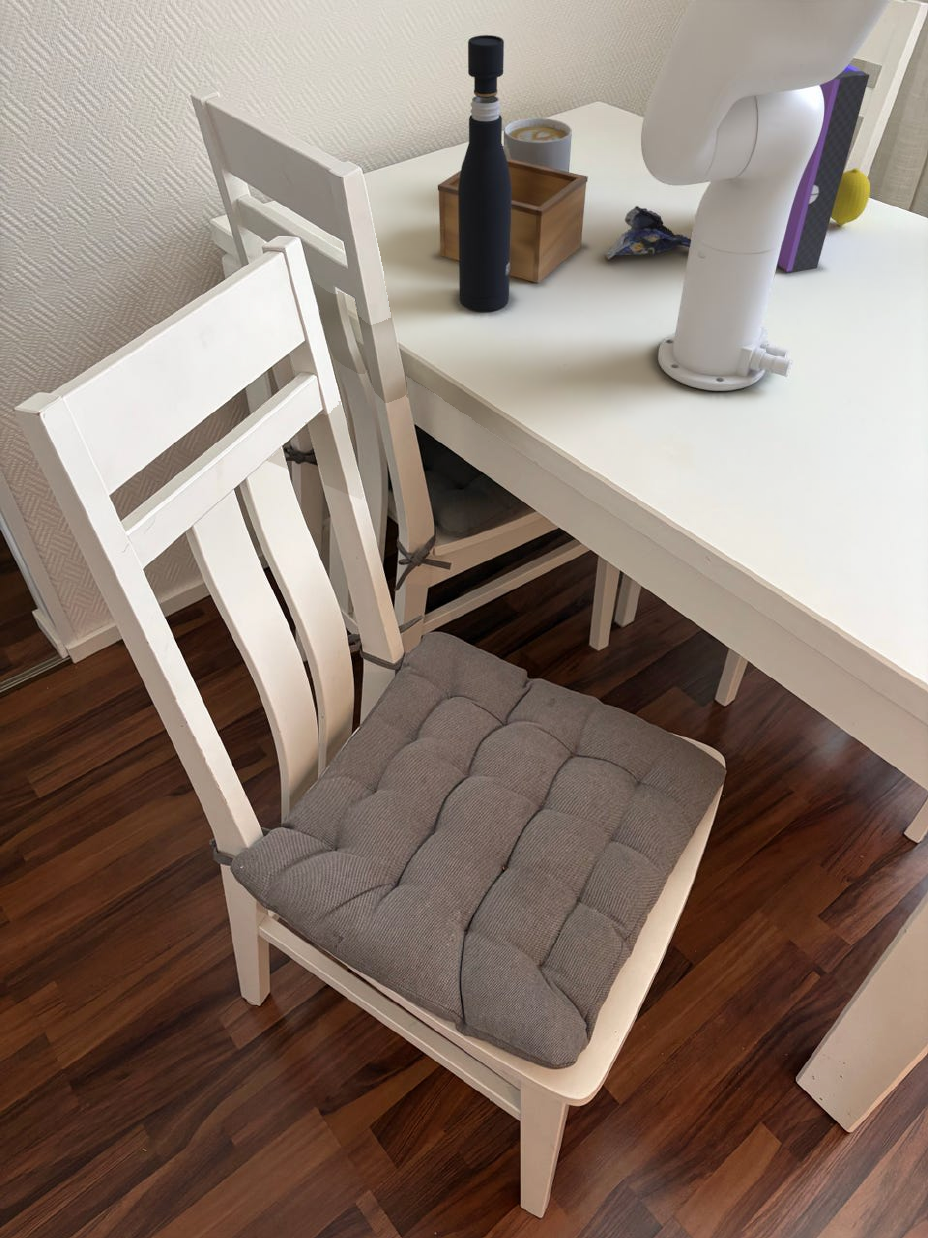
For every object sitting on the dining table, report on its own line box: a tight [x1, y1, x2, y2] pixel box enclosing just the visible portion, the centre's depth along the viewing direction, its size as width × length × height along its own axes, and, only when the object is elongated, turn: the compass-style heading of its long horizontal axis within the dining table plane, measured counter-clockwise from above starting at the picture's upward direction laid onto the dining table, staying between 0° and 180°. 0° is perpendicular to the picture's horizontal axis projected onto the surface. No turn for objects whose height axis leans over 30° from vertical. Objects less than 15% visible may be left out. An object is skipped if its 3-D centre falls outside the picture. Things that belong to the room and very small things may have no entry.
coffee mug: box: [502, 117, 573, 173], centre depth 141 cm, size 13×10×10 cm
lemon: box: [830, 167, 871, 227], centre depth 135 cm, size 6×6×8 cm
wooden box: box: [437, 158, 589, 284], centre depth 129 cm, size 16×13×10 cm
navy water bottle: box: [458, 34, 512, 313], centre depth 112 cm, size 6×6×30 cm
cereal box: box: [777, 63, 870, 274], centre depth 125 cm, size 17×5×24 cm, turn 18°
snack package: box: [604, 205, 691, 261], centre depth 131 cm, size 12×6×12 cm
